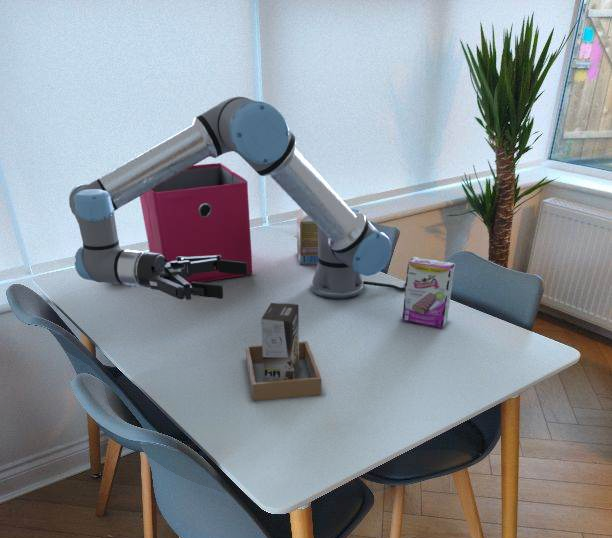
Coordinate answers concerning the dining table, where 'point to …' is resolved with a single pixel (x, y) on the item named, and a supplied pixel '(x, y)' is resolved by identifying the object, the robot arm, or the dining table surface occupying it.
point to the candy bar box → (428, 292)
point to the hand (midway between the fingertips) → (235, 279)
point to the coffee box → (280, 342)
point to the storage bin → (200, 218)
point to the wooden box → (284, 386)
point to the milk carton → (307, 239)
